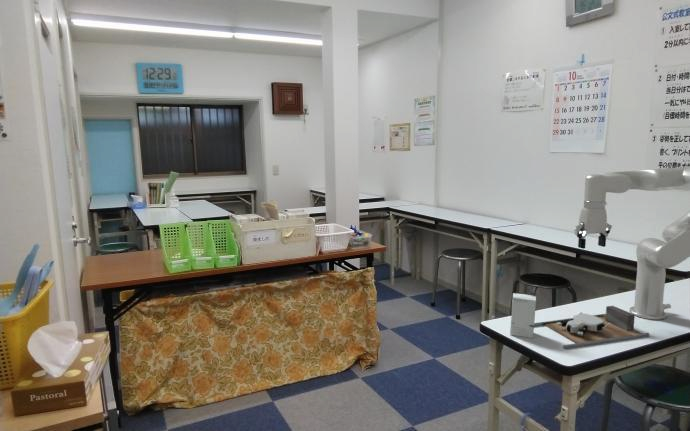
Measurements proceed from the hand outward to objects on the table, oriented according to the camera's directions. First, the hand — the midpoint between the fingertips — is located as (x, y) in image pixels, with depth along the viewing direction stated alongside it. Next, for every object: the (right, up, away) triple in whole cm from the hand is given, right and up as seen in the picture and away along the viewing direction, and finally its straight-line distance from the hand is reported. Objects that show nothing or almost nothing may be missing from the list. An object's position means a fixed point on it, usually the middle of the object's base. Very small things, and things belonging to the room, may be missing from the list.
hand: (591, 247), depth 180 cm
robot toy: (-11, -31, -14) cm, 35 cm away
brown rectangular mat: (-7, -31, -13) cm, 34 cm away
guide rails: (-9, -31, -13) cm, 35 cm away
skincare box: (-34, -32, -14) cm, 49 cm away
